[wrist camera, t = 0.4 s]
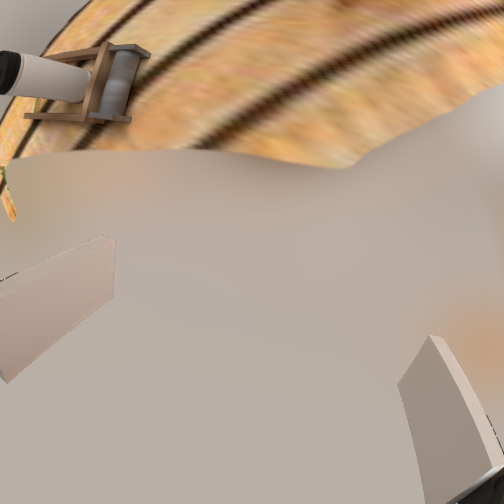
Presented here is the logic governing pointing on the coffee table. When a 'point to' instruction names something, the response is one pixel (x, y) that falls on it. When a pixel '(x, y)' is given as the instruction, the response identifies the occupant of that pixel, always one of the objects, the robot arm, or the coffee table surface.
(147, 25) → the coffee table surface
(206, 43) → the coffee table surface
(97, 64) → the bay
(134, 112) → the coffee table surface
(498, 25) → the coffee table surface
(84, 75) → the travel mug
